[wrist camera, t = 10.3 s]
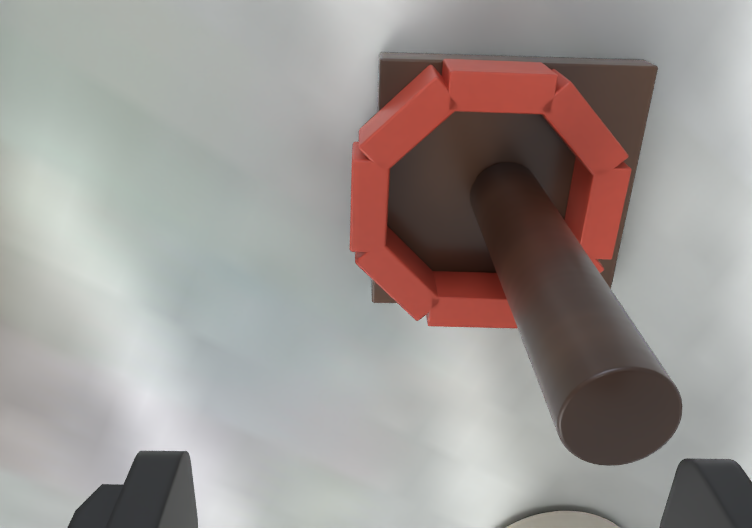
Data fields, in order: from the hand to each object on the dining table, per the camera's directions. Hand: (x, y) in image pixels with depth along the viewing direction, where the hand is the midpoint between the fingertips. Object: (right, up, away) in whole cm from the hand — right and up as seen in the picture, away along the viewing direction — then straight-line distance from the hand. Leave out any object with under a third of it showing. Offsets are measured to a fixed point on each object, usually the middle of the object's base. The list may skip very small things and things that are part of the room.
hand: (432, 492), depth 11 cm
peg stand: (+4, +7, +14) cm, 16 cm away
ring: (+3, +6, +12) cm, 14 cm away
